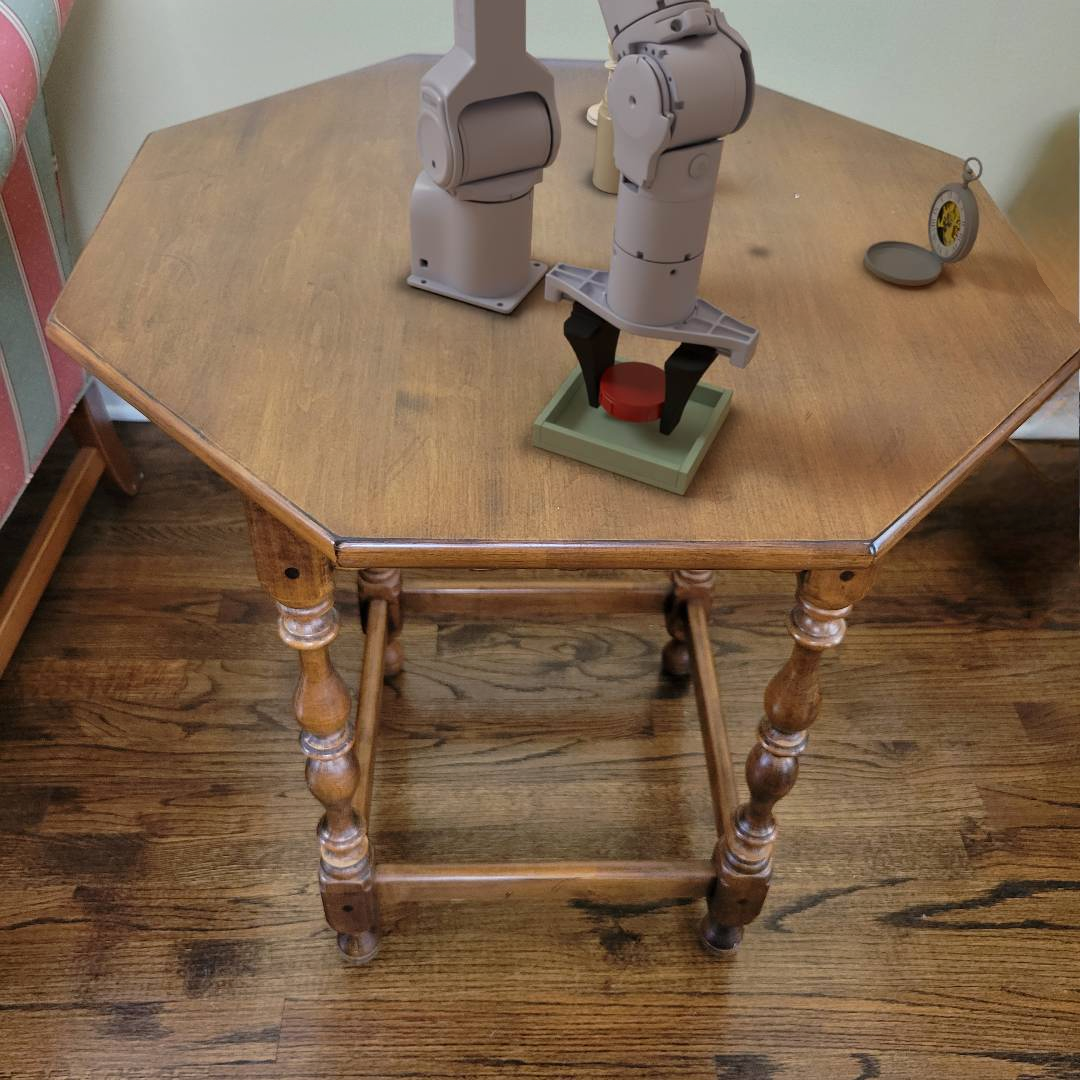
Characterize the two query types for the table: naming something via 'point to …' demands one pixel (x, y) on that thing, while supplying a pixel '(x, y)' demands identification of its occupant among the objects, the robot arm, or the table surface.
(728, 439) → the table surface
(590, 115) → the chess piece
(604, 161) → the jar
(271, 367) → the table surface
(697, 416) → the tray
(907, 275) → the pocket watch
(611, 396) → the lid
